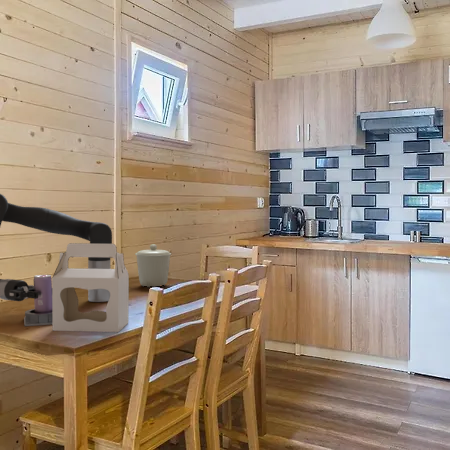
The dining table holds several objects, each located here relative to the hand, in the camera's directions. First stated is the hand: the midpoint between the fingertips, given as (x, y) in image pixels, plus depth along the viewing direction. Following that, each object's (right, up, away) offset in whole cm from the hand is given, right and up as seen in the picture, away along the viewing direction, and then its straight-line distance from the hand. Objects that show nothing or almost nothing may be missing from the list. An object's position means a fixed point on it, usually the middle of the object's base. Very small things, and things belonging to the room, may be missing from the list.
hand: (46, 293), depth 181 cm
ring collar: (-2, -10, +1) cm, 10 cm away
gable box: (+17, -11, -6) cm, 21 cm away
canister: (+26, -7, +83) cm, 87 cm away
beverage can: (-2, -9, +2) cm, 10 cm away
